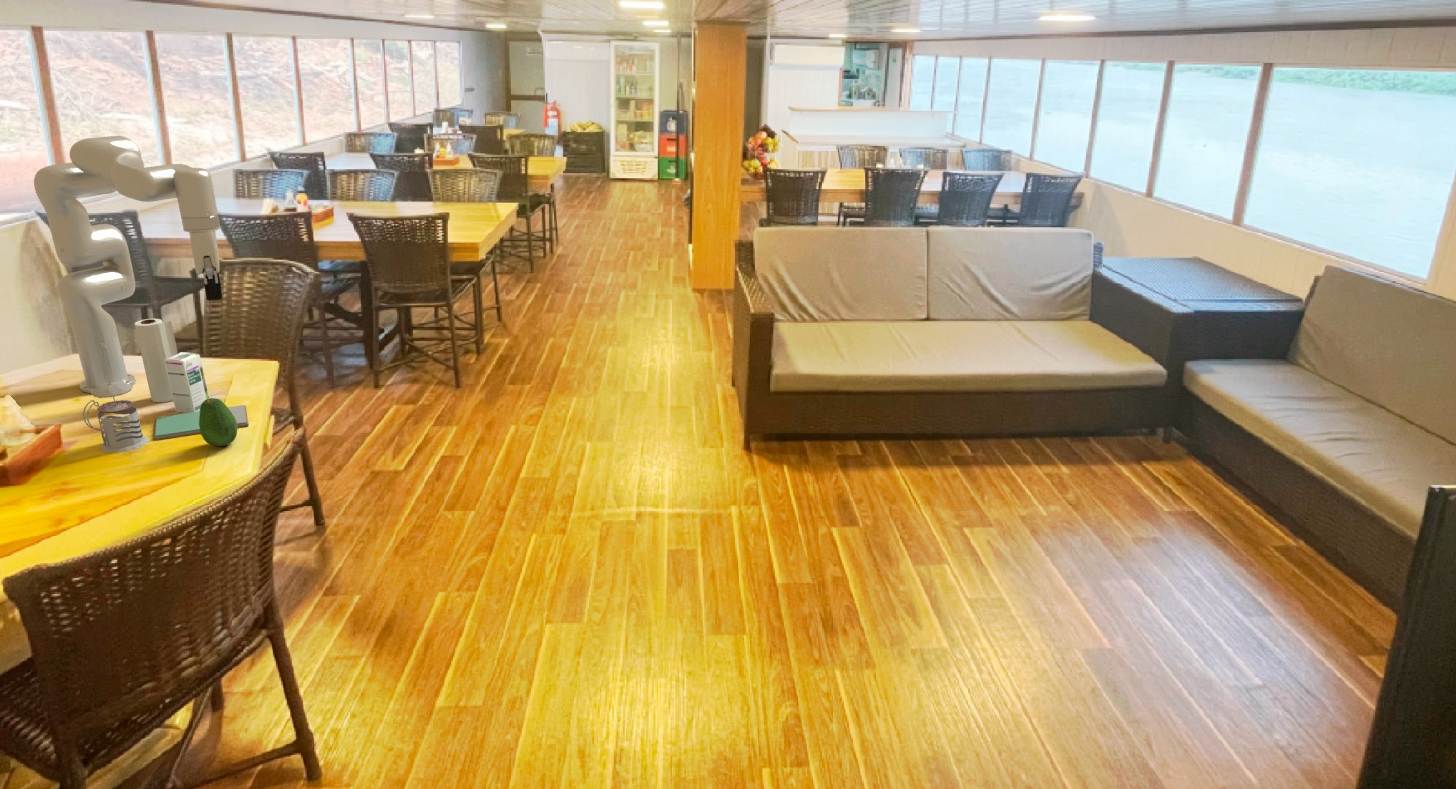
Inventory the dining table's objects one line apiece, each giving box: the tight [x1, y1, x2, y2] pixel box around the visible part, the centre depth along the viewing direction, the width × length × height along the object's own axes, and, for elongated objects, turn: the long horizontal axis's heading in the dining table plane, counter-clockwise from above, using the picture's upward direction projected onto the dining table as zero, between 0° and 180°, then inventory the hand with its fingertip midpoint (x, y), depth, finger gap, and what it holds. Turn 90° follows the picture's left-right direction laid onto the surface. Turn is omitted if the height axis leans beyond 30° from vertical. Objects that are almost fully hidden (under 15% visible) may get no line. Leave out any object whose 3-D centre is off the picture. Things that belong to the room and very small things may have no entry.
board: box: [153, 404, 249, 441], centre depth 225 cm, size 13×20×1 cm, turn 119°
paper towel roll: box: [134, 318, 179, 403], centre depth 234 cm, size 7×6×21 cm
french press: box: [82, 343, 150, 454], centre depth 208 cm, size 10×12×25 cm
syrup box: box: [164, 351, 210, 414], centre depth 230 cm, size 6×6×14 cm
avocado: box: [199, 397, 238, 447], centre depth 212 cm, size 8×8×12 cm
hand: (214, 294), depth 216 cm, fingers open, 9 cm apart
